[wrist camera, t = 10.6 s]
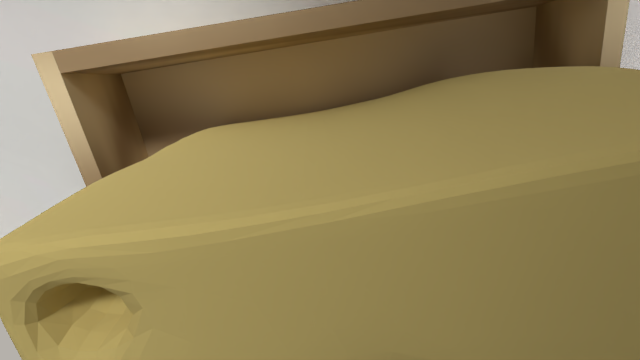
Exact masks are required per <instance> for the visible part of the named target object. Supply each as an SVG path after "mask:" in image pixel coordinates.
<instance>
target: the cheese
mask: <svg viewBox="0 0 640 360" xmlns="http://www.w3.org/2000/svg"><path fill="white" fill-rule="evenodd" d="M0 317H1V319H2V322H3V324H4V326H5V328H6V330H7V332H8V334H9V335H10V338H11V340H12V341H13V343H14V345H15V347H16V349H17V350H18V353H19V355H20V357H21V358H22V360H640V70H635V69H627V68H619V67H599V66H576V67H543V68H525V69H512V70H501V71H492V72H484V73H478V74H471V75H465V76H459V77H454V78H449V79H445V80H441V81H437V82H434V83H429V84H425V85H422V86H419V87H416V88H412V89H409V90H406V91H403V92H399V93H396V94H393V95H389V96H386V97H382V98H378V99H374V100H369V101H365V102H360V103H356V104H351V105H346V106H342V107H337V108H332V109H328V110H322V111H317V112H311V113H305V114H298V115H292V116H286V117H279V118H272V119H265V120H257V121H250V122H243V123H235V124H228V125H222V126H217V127H212V128H208V129H205V130H202V131H199V132H196V133H194V134H192V135H190V136H187V137H185V138H182V139H181V140H179V141H177V142H175V143H173V144H171V145H169V146H167V147H165V148H163V149H161V150H160V151H158V152H157V153H155V154H153V155H152V156H150V157H148V158H146V159H145V160H142V161H140V162H138V163H135V164H133V165H131V166H128V167H126V168H124V169H121V170H119V171H117V172H115V173H113V174H110V175H108V176H106V177H104V178H102V179H100V180H98V181H96V182H94V183H92V184H90V185H89V186H87V187H85V188H83V189H82V190H80V191H78V192H76V193H75V194H73V195H71V196H70V197H68V198H66V199H65V200H63V201H61V202H60V203H58V204H56V205H54V206H53V207H51V208H49V209H48V210H46V211H44V212H43V213H41V214H40V215H38V216H36V217H35V218H33V219H32V220H30V221H29V222H27V223H25V224H24V225H22V226H21V227H19V228H17V229H16V230H14V231H12V232H11V233H9V234H7V235H6V236H4V237H3V238H1V239H0Z"/></svg>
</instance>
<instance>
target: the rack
mask: <svg viewBox="0 0 640 360" xmlns="http://www.w3.org/2000/svg"><path fill="white" fill-rule="evenodd" d="M628 7H629V0H358V1H352V2H346V3H340V4H334V5H328V6H321V7H315V8H309V9H303V10H297V11H291V12H285V13H279V14H273V15H267V16H261V17H255V18H249V19H243V20H237V21H231V22H225V23H219V24H213V25H207V26H201V27H195V28H189V29H183V30H177V31H171V32H165V33H159V34H153V35H147V36H141V37H135V38H128V39H122V40H116V41H110V42H104V43H98V44H92V45H86V46H80V47H74V48H68V49H62V50H56V51H50V52H44V53H38V54H32V58H33V60H34V62H35V65H36V67H37V70H38V72H39V74H40V77H41V79H42V81H43V84H44V86H45V89H46V91H47V93H48V96H49V98H50V101H51V103H52V105H53V108H54V110H55V113H56V115H57V117H58V120H59V122H60V125H61V127H62V129H63V132H64V134H65V137H66V139H67V141H68V144H69V146H70V149H71V151H72V153H73V156H74V158H75V160H76V163H77V165H78V168H79V170H80V172H81V175H82V177H83V180H84V182H85V184H86V187H87V186H89V185H90V184H92V183H94V182H96V181H98V180H100V179H102V178H104V177H106V176H108V175H110V174H113V173H115V172H117V171H119V170H121V169H124V168H126V167H128V166H131V165H133V164H135V163H138V162H140V161H142V160H145V159H146V158H148V157H150V156H152V155H153V154H155V153H157V152H158V151H160V150H161V149H163V148H165V147H167V146H169V145H171V144H173V143H175V142H177V141H179V140H181V139H182V138H185V137H187V136H190V135H192V134H194V133H196V132H199V131H202V130H205V129H208V128H212V127H217V126H222V125H228V124H235V123H243V122H250V121H257V120H265V119H272V118H279V117H286V116H292V115H298V114H305V113H311V112H317V111H322V110H328V109H332V108H337V107H342V106H346V105H351V104H356V103H360V102H365V101H369V100H374V99H378V98H382V97H386V96H389V95H393V94H396V93H399V92H403V91H406V90H409V89H412V88H416V87H419V86H422V85H425V84H429V83H434V82H437V81H441V80H445V79H449V78H454V77H459V76H465V75H471V74H478V73H484V72H492V71H501V70H512V69H525V68H543V67H576V66H599V67H619V68H620V61H621V54H622V48H623V41H624V34H625V27H626V21H627V14H628Z"/></svg>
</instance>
